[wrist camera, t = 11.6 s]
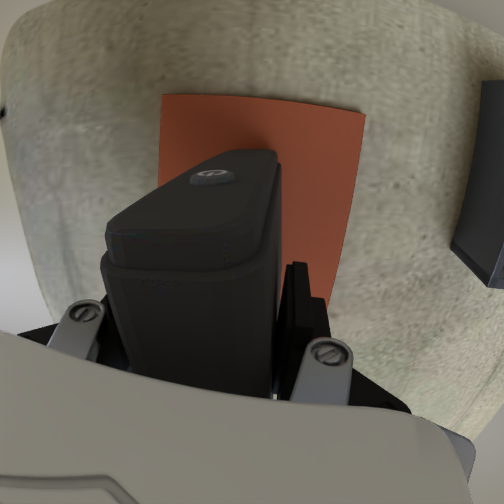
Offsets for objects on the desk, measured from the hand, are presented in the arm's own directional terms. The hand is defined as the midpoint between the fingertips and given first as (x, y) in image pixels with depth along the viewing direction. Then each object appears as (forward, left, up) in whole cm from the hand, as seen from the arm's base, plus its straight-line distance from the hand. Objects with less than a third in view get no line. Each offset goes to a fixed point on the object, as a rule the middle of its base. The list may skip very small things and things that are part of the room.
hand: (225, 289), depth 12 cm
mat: (0, 0, -11) cm, 11 cm away
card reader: (0, 0, -10) cm, 10 cm away
